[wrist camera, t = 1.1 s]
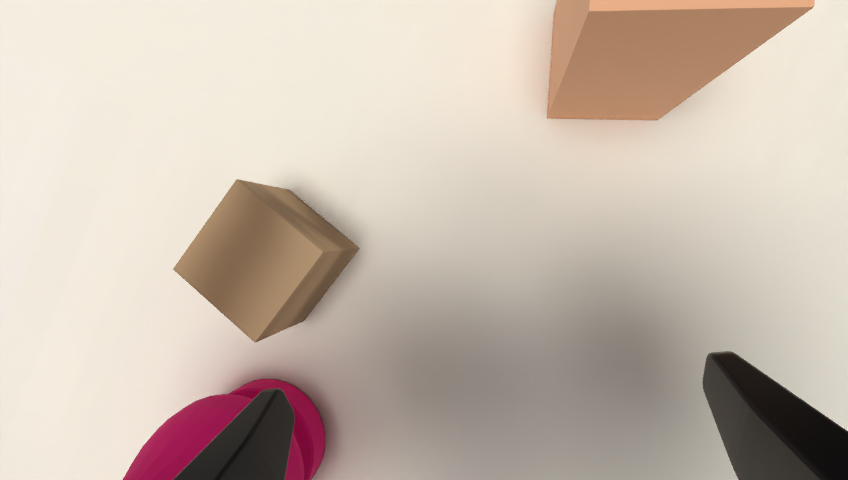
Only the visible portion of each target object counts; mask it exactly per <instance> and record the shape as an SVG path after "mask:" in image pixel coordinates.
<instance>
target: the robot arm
mask: <svg viewBox="0 0 848 480" xmlns="http://www.w3.org/2000/svg"><path fill="white" fill-rule="evenodd" d="M703 389H704V393H705V395H706V398H707V401H708V403H709V406H710V409H711V411H712V414H713V417H714V419H715V422H716V424H717V427H718V430H719V432H720V435H721V438H722V440H723V443H724V446H725V448H726V451H727V454H728V456H729V459H730V461H731V464H732V466H733V469H734V471H735V473H736V475H737V477H738V479H739V480H848V431H846V430H845V429H844V428H842V427H841V426H839V425H838V424H836V423H835V422H833V421H832V420H831V419H829V418H828V417H826V416H825V415H823V414H822V413H820V412H819V411H818V410H816V409H815V408H813V407H812V406H810V405H809V404H807V403H806V402H805V401H803V400H802V399H800V398H799V397H797V396H796V395H794V394H793V393H792V392H790V391H789V390H787V389H786V388H784V387H783V386H782V385H780V384H779V383H777V382H776V381H774V380H773V379H771V378H770V377H769V376H767V375H766V374H764V373H763V372H761V371H760V370H758V369H757V368H756V367H754V366H753V365H751V364H750V363H748V362H747V361H745V360H744V359H743V358H741V357H740V356H738V355H737V354H735V353H733V352H729V351H726V352H714V353H710V354H708V356H707V358H706V364H705V370H704V376H703ZM294 423H295V414H294V410H293V408H292V406H291V404H290V402H289V401H288V399H287V397H286V395H285V393H284V391H283V390H282V389H280V388H274V389H265V390H263V391H261V392H260V393H259V394H258V395H257V396H256V397H255V398H254V399H253V400H252V401H251V402H250V403H249V404H248V405H247V406H246V407H245V408H244V409H243V410H242V411H241V412H240V413H239V414H238V415H237V416H236V417H235V418H234V419H233V420H232V421H231V422H230V423H229V424H228V425H227V426H226V427H225V428H224V429H223V430H222V431H221V432H220V433H219V434H218V435H217V436H216V437H215V438H214V439H213V440H212V441H211V442H210V443H209V444H208V445H207V446H206V447H205V448H204V449H203V450H202V451H201V452H200V453H199V454H198V455H197V456H196V457H195V458H194V459H193V460H192V461H191V462H190V463H189V464H188V465H187V466H186V467H185V468H184V469H183V470H182V471H181V472H180V473H179V474H178V475H177V476H176V477H175V478H174V479H173V480H285V476H286V470H287V464H288V458H289V452H290V446H291V440H292V434H293V428H294Z"/></svg>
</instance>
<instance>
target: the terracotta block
mask: <svg viewBox="0 0 848 480" xmlns="http://www.w3.org/2000/svg"><path fill="white" fill-rule="evenodd" d="M814 1H815V0H557V3H556V7H555V11H554V19H553V34H552V49H551V65H550V80H549V95H548V110H547V118H560V119H616V120H658V119H659V118H661V117H662V116H664V115H665V114H666V113H668V112H669V111H670V110H672V109H673V108H675V107H676V106H677V105H679V104H680V103H682V102H683V101H684V100H686V99H687V98H688V97H690V96H691V95H693V94H694V93H695V92H697V91H698V90H700V89H701V88H702V87H704V86H705V85H706V84H708V83H709V82H711V81H712V80H713V79H715V78H716V77H718V76H719V75H720V74H722V73H723V72H724V71H726V70H727V69H729V68H730V67H731V66H733V65H734V64H736V63H737V62H738V61H740V60H741V59H742V58H744V57H745V56H747V55H748V54H749V53H751V52H752V51H754V50H755V49H756V48H758V47H759V46H761V45H762V44H763V43H765V42H766V41H767V40H769V39H770V38H772V37H773V36H774V35H776V34H777V33H779V32H780V31H781V30H783V29H784V28H785V27H787V26H788V25H790V24H791V23H792V22H794V21H795V20H797V19H798V18H799V17H801V16H802V15H803V14H805V13H806V12H808V11H809V10H810V9H812V8H813V7H814Z"/></svg>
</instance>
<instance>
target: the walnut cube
mask: <svg viewBox="0 0 848 480" xmlns="http://www.w3.org/2000/svg"><path fill="white" fill-rule="evenodd" d="M358 249H359V247H357V246H356V245H355V244H354V243H353V242H351V241H350V240H349V239H348V238H346V237H345V236H344V235H343V234H342V233H340V232H339V231H338V230H337V229H336V228H334V227H333V226H332V225H331V224H330V223H328V222H327V221H326V220H325V219H324V218H322V217H321V216H320V215H319V214H318V213H316V212H315V211H314V210H313V209H311V208H310V207H309V206H308V205H307V204H305V203H304V202H303V201H302V200H301V199H299V198H298V197H297V196H296V195H295V194H293V193H292V192H291V191H290V190H287V189H282V188H277V187H272V186H267V185H262V184H257V183H252V182H247V181H242V180H236V181H235V183H234V184H233V185H232V187H231V188H230V190H229V191H228V192H227V194H226V195H225V197H224V198H223V199H222V201H221V202H220V204H219V205H218V207H217V208H216V209H215V211H214V212H213V214H212V215H211V216H210V218H209V219H208V221H207V222H206V223H205V225H204V226H203V228H202V229H201V231H200V232H199V233H198V235H197V236H196V238H195V239H194V240H193V242H192V243H191V245H190V246H189V247H188V249H187V250H186V252H185V253H184V254H183V256H182V257H181V259H180V260H179V262H178V263H177V264H176V266H175V267H174V269H173V270H175V271H176V272H177V273H178V274H179V275H180V276H181V277H182V278H183V279H185V280H186V281H187V282H188V283H189V284H190V285H191V286H192V287H194V288H195V289H196V290H197V291H198V292H199V293H200V294H201V295H202V296H204V297H205V298H206V299H207V300H208V301H209V302H210V303H211V304H213V305H214V306H215V307H216V308H217V309H218V310H219V311H220V312H221V313H223V314H224V315H225V316H226V317H227V318H228V319H229V320H230V321H232V322H233V323H234V324H235V325H236V326H237V327H238V328H239V329H240V330H242V331H243V332H244V333H245V334H246V335H247V336H248V337H249V338H251V339H252V340H253V341H254V342H257V341H260V340H262V339H264V338H266V337H269V336H271V335H273V334H275V333H278V332H280V331H282V330H284V329H287V328H289V327H291V326H294V325H296V324H298V323H300V322H303V321H304V320H305V319H306V317H307V316H308V315H309V314H310V312H311V311H312V310H313V308H314V307H315V306H316V304H317V303H318V302H319V300H320V299H321V298H322V297H323V295H324V294H325V293H326V291H327V290H328V289H329V287H330V286H331V285H332V283H333V282H334V281H335V279H336V278H337V277H338V276H339V274H340V273H341V272H342V270H343V269H344V268H345V266H346V265H347V264H348V262H349V261H350V260H351V259H352V257H353V256H354V255H355V253H356V252H357V251H358Z"/></svg>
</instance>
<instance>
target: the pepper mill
mask: <svg viewBox="0 0 848 480" xmlns="http://www.w3.org/2000/svg"><path fill="white" fill-rule="evenodd" d="M274 388H280V389H282V390H283V391H284V393H285V395H286V397H287V399H288V401H289V402H290V404H291V406H292V408H293V410H294V414H295V423H294V428H293V434H292V440H291V446H290V452H289V458H288V464H287V470H286V476H285V480H311V478H312V477H313V476H314V474H315V473H316V471H317V469H318V468H319V466H320V464H321V461H322V459H323V455H324V450H325V432H324V426H323V423H322V421H321V418H320V415H319V413H318V411H317V409H316V408H315V406H314V405H313V403H312V402H311V400H310V399H309V398H308V397H307V396H306V395H305V394H304V393H302V392H301V391H300V390H299V389H298V388H296V387H294V386H292V385H290V384H288V383H286V382H283V381H279V380H273V379H260V380H255V381H252V382H249V383H247V384H245V385H243V386H241V387H240V388H238V389H236V390H234V391H233V392H231V393H229V394H222V395H214V396H209V397H206V398H203V399H201V400H198V401H195V402H194V403H192V404H190V405H188V406H187V407H185V408H183V409H182V410H181V411H179V412H178V413H176V414H175V415H174V416H172V417H171V418H169V419H168V420H167V421H166V422H165V423H164V424H163V425H162V426H161V427H159V428H158V429H157V431H156V432H155V433H154V434H153V435H152V436H151V438H150V439H149V440H148V441H147V442H146V443H145V445H144V446H143V447H142V449H141V450H140V452H139V453H138V455H137V456H136V458H135V460H134V461H133V463H132V464H131V466H130V468H129V470H128V471H127V473H126V475H125V477H124V478H123V480H173V479H174V478H175V477H176V476H177V475H178V474H179V473H180V472H181V471H182V470H183V469H184V468H185V467H186V466H187V465H188V464H189V463H190V462H191V461H192V460H193V459H194V458H195V457H196V456H197V455H198V454H199V453H200V452H201V451H202V450H203V449H204V448H205V447H206V446H207V445H208V444H209V443H210V442H211V441H212V440H213V439H214V438H215V437H216V436H217V435H218V434H219V433H220V432H221V431H222V430H223V429H224V428H225V427H226V426H227V425H228V424H229V423H230V422H231V421H232V420H233V419H234V418H235V417H236V416H237V415H238V414H239V413H240V412H241V411H242V410H243V409H244V408H245V407H246V406H247V405H248V404H249V403H250V402H251V401H252V400H253V399H254V398H255V397H256V396H257V395H258V394H259V393H260V392H261V391H263V390H265V389H274Z"/></svg>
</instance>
